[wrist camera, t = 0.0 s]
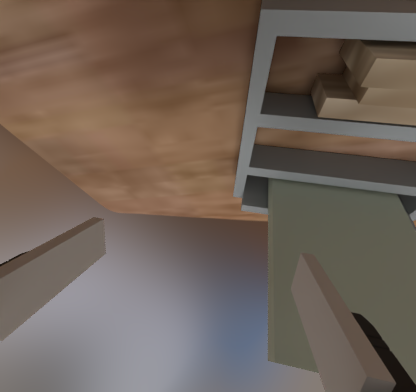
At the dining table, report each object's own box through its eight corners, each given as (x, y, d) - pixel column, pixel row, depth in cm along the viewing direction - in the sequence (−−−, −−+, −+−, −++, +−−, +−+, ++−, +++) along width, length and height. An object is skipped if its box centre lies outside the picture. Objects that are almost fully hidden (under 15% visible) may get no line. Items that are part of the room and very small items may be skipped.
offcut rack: (262, -3, 14) (260, 17, 10) (636, 4, 11) (806, 33, 8) (236, 174, 28) (231, 208, 25) (398, 195, 26) (420, 237, 22)
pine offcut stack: (335, 28, 14) (357, 57, 11) (474, 33, 13) (550, 66, 10) (310, 91, 18) (321, 128, 14) (419, 99, 17) (460, 141, 13)
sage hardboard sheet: (271, 157, 25) (274, 362, 13) (384, 170, 23) (510, 418, 11) (268, 168, 26) (267, 360, 14) (373, 181, 25) (472, 409, 13)
